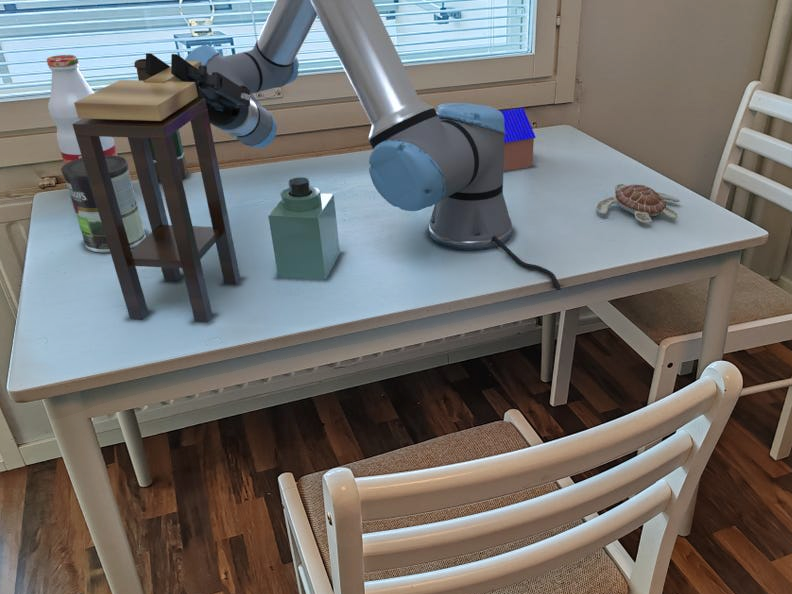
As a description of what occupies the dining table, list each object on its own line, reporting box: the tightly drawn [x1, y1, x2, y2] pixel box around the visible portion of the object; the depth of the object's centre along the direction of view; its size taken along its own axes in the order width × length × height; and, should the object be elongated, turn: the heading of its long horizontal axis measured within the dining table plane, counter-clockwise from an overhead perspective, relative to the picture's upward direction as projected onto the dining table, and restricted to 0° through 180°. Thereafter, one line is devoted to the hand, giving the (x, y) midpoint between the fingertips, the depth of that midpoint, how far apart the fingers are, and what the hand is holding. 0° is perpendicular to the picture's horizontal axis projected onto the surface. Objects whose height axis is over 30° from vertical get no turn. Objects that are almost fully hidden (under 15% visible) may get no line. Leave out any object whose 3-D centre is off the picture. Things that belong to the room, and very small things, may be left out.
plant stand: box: [72, 98, 241, 323], centre depth 108 cm, size 14×12×29 cm
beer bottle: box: [133, 58, 188, 183], centre depth 154 cm, size 8×8×24 cm
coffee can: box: [60, 155, 147, 254], centre depth 129 cm, size 10×10×14 cm
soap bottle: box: [267, 185, 341, 281], centre depth 122 cm, size 10×8×13 cm
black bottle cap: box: [288, 176, 311, 197], centre depth 118 cm, size 3×3×2 cm
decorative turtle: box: [595, 183, 681, 224], centre depth 145 cm, size 18×17×5 cm
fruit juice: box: [46, 54, 118, 165], centre depth 138 cm, size 9×9×28 cm
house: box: [499, 107, 536, 173], centre depth 165 cm, size 12×20×12 cm, turn 117°
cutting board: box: [74, 61, 202, 121], centre depth 104 cm, size 24×11×2 cm, turn 175°
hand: (161, 63), depth 104 cm, fingers closed on cutting board, 3 cm apart
